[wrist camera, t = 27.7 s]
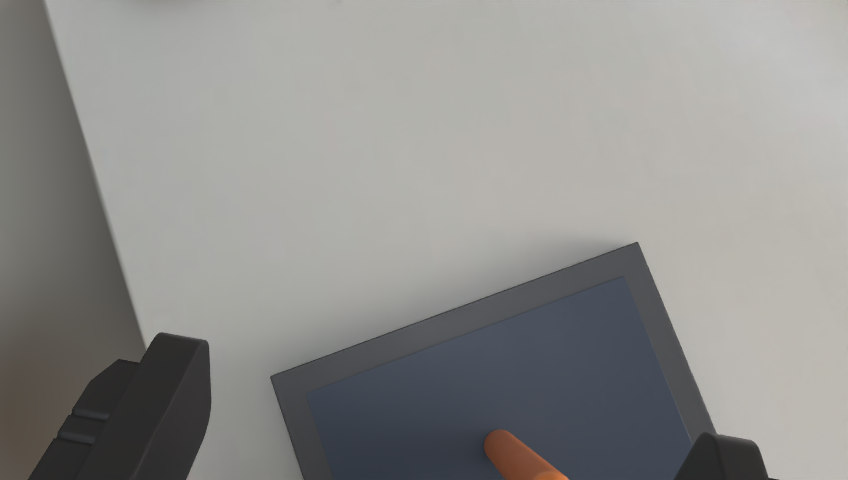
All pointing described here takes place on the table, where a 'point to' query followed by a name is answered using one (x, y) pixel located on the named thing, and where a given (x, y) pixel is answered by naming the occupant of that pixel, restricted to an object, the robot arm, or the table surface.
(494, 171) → the table surface
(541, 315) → the tablet
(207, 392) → the robot arm
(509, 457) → the stylus
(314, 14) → the table surface
